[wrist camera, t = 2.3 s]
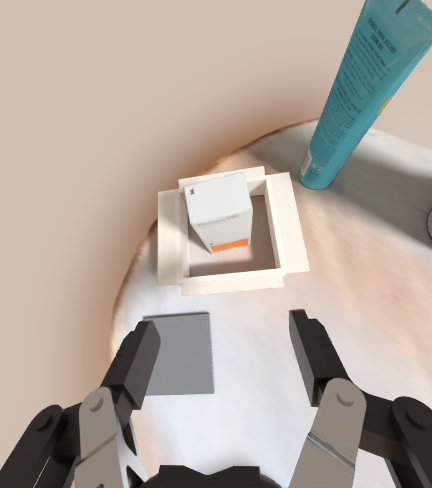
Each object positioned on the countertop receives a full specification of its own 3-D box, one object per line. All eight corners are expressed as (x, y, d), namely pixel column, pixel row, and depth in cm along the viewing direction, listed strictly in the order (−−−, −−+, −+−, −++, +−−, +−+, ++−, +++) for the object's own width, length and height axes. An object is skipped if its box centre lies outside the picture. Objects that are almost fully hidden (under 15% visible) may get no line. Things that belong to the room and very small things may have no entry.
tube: (343, 188, 30) (492, 7, 12) (312, 201, 30) (408, 42, 12) (318, 150, 32) (408, -52, 14) (288, 162, 32) (339, -21, 14)
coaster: (209, 313, 28) (208, 313, 27) (214, 391, 25) (213, 393, 25) (146, 318, 29) (144, 318, 28) (144, 393, 26) (142, 395, 26)
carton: (282, 179, 32) (287, 162, 28) (303, 286, 27) (312, 284, 23) (168, 196, 34) (158, 182, 30) (169, 298, 29) (157, 297, 25)
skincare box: (210, 255, 30) (187, 225, 19) (205, 228, 31) (181, 184, 20) (252, 245, 30) (254, 208, 18) (245, 218, 31) (242, 168, 20)
